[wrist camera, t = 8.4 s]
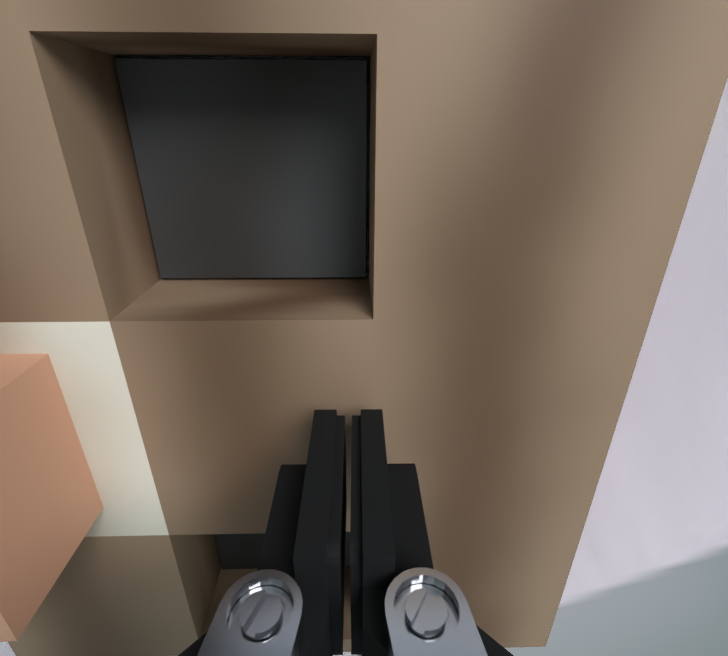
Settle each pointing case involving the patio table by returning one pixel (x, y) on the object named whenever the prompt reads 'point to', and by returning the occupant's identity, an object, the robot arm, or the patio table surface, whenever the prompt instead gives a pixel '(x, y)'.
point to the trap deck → (339, 272)
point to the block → (37, 488)
